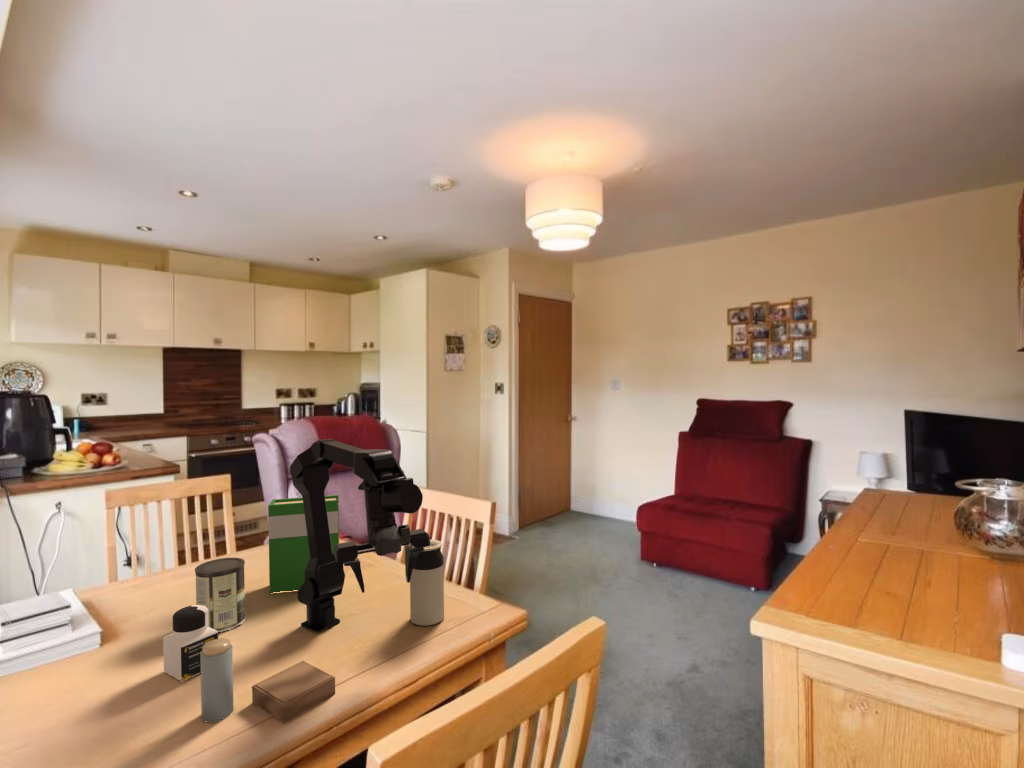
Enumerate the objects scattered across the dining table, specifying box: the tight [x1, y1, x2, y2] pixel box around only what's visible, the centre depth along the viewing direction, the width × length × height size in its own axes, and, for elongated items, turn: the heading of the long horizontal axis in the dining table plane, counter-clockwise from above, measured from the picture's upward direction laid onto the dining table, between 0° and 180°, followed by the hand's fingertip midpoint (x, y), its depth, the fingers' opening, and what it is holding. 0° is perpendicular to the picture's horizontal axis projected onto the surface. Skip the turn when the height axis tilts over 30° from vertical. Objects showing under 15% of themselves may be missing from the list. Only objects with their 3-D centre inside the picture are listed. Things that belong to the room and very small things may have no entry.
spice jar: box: [200, 637, 235, 723], centre depth 90 cm, size 5×5×12 cm
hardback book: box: [267, 494, 340, 594], centre depth 146 cm, size 18×7×24 cm, turn 107°
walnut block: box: [251, 660, 336, 724], centre depth 94 cm, size 10×10×3 cm
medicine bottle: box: [162, 604, 219, 682], centre depth 104 cm, size 7×7×12 cm
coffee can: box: [194, 557, 247, 633], centre depth 123 cm, size 10×10×14 cm
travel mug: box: [409, 538, 445, 627], centre depth 125 cm, size 8×8×18 cm
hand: (386, 587), depth 108 cm, fingers open, 9 cm apart
